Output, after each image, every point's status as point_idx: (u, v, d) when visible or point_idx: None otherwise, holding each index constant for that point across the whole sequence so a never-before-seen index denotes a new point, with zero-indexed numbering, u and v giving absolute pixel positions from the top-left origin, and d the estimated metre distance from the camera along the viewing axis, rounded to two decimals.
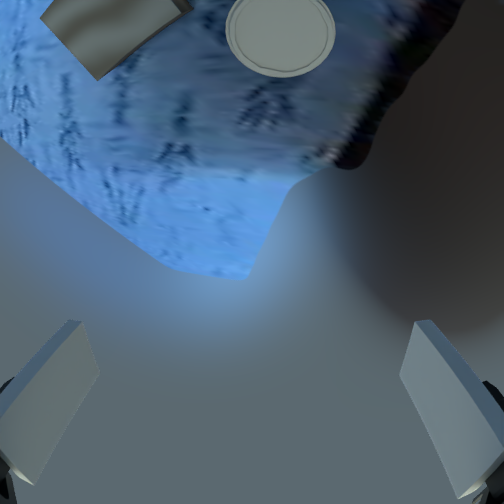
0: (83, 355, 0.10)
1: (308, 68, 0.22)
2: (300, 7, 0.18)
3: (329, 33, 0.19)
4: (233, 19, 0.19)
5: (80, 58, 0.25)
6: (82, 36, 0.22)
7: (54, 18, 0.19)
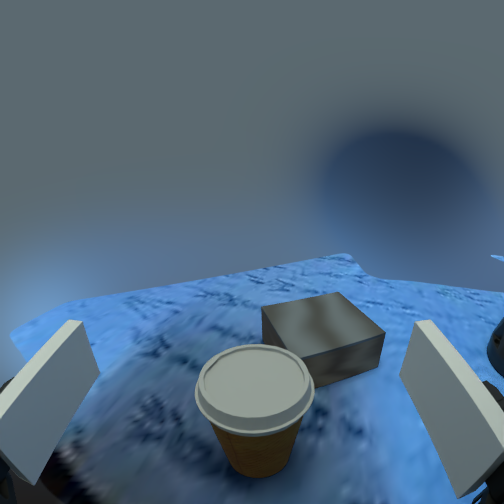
0: (83, 355, 0.10)
1: (202, 389, 0.20)
2: (281, 397, 0.20)
3: (242, 413, 0.18)
4: (279, 348, 0.25)
5: (287, 303, 0.44)
6: (305, 307, 0.43)
7: (331, 297, 0.45)
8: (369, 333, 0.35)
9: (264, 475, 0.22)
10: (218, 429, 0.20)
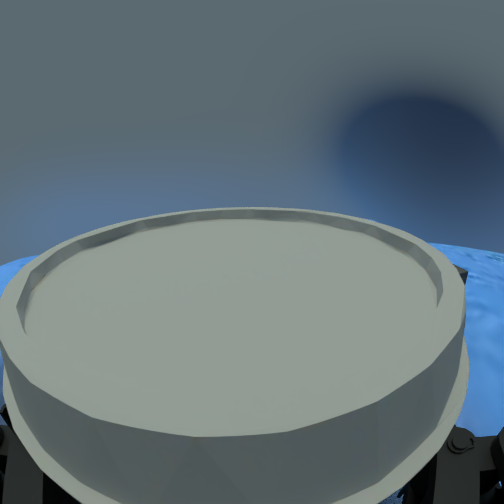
0: None
1: (23, 273, 0.04)
2: (357, 314, 0.04)
3: (88, 385, 0.02)
4: (311, 211, 0.09)
5: None
6: None
7: None
8: None
9: None
10: None
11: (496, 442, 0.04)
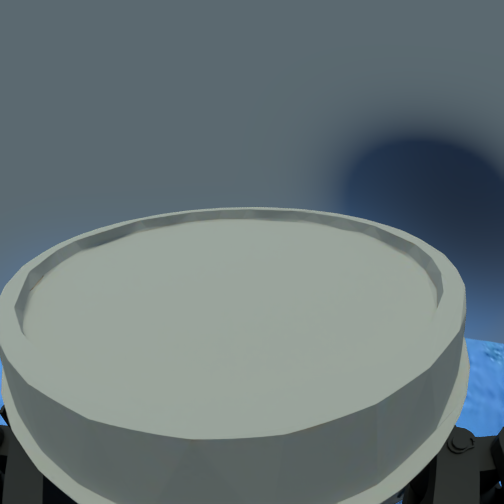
0: None
1: (22, 273, 0.04)
2: (357, 314, 0.04)
3: (85, 386, 0.02)
4: (311, 211, 0.09)
5: None
6: None
7: None
8: None
9: None
10: None
11: (496, 442, 0.04)
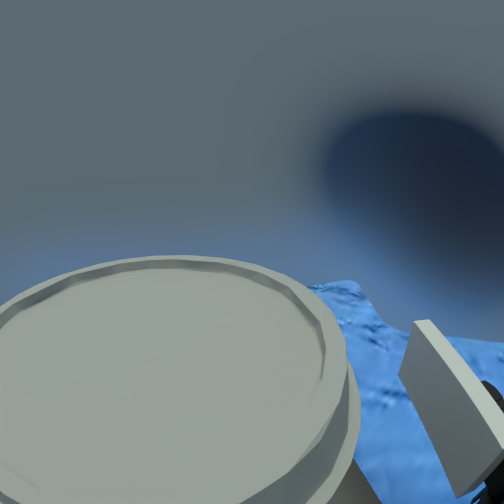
0: None
1: None
2: (215, 422, 0.04)
3: (1, 471, 0.02)
4: (234, 262, 0.09)
5: None
6: None
7: None
8: None
9: None
10: None
11: None
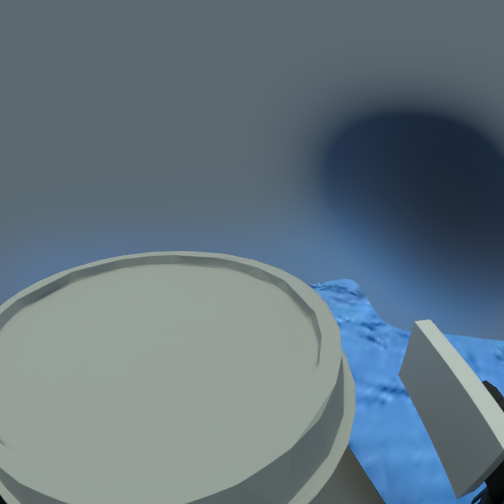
0: None
1: None
2: (220, 405, 0.04)
3: (16, 460, 0.02)
4: (231, 257, 0.09)
5: None
6: None
7: None
8: None
9: None
10: None
11: None
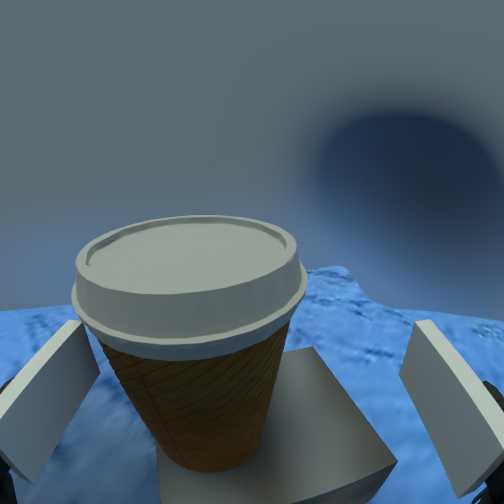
0: (83, 355, 0.10)
1: (80, 265, 0.09)
2: (246, 264, 0.10)
3: (164, 288, 0.08)
4: (224, 216, 0.15)
5: None
6: None
7: (296, 361, 0.22)
8: (360, 465, 0.12)
9: (227, 466, 0.13)
10: (118, 361, 0.09)
11: None
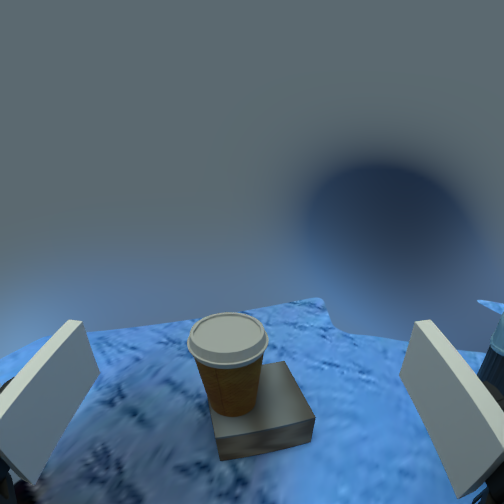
0: (83, 355, 0.10)
1: (194, 342, 0.31)
2: (247, 340, 0.32)
3: (226, 351, 0.30)
4: (239, 313, 0.37)
5: None
6: None
7: (275, 368, 0.44)
8: (298, 417, 0.34)
9: (241, 413, 0.34)
10: (208, 370, 0.31)
11: None
